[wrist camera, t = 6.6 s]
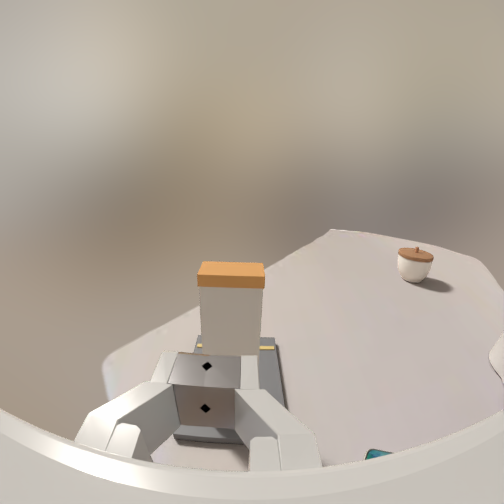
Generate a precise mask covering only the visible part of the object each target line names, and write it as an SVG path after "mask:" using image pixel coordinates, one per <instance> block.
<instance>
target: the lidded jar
mask: <svg viewBox="0 0 504 504" xmlns="http://www.w3.org/2000/svg"><path fill="white" fill-rule="evenodd" d="M433 258H434V257H433V255H432V254H430V253H428V252H426V251H423V250H419V247H416V248H415V249H414V248H401V249H399V252H398V270H399V273H400V275H401V276H402V279H404V280H406V281H408V282H412V283H419V282H421V280H423V279H424V278H425V277H426V276H427V275H428V273H429V271H430V269H431V265H432V261H433Z"/></svg>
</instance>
